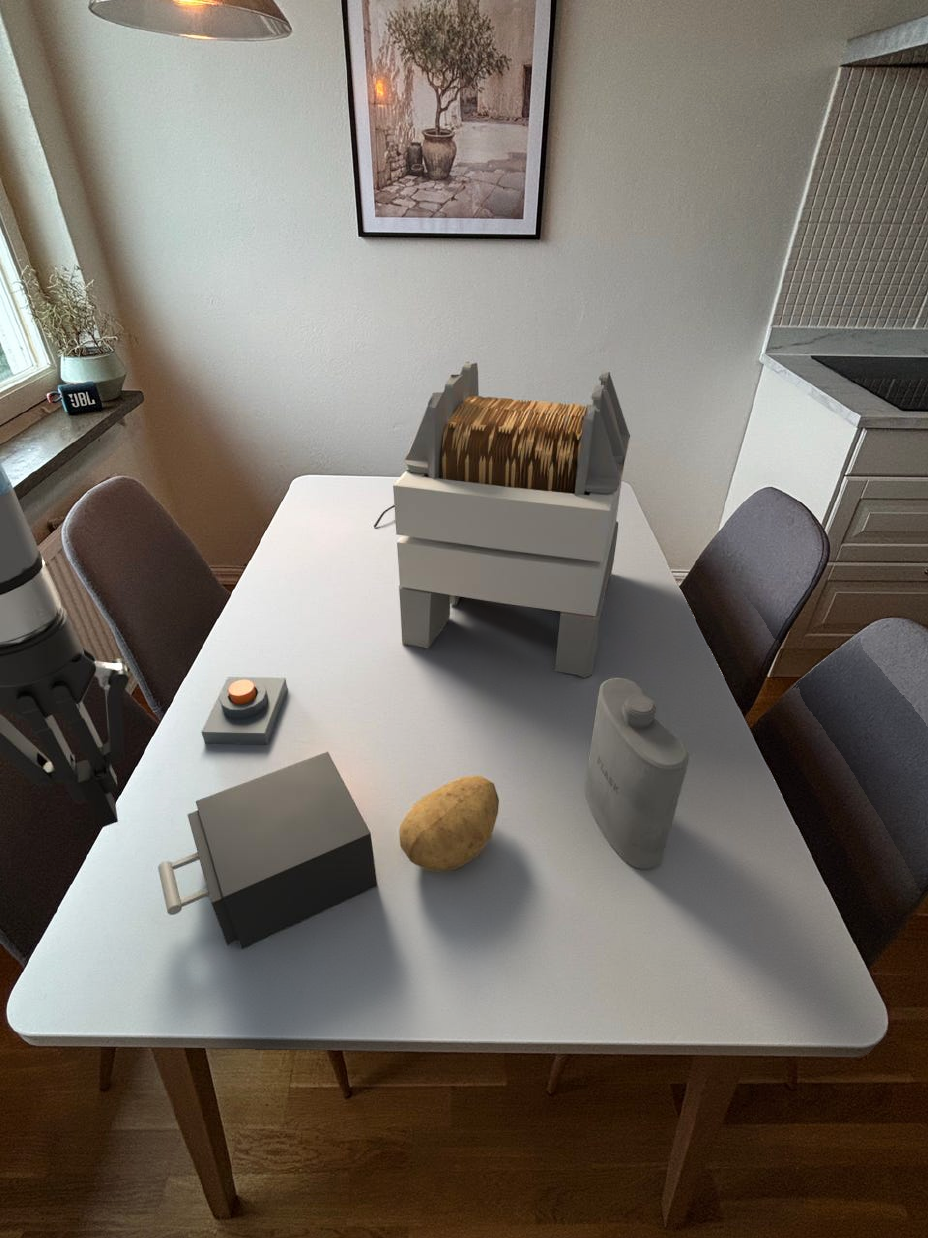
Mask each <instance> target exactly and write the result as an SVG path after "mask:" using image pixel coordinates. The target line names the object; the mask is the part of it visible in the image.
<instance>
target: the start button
mask: <svg viewBox="0 0 928 1238" xmlns="http://www.w3.org/2000/svg"><path fill="white" fill-rule="evenodd" d="M229 695H230V698H231V701H232V702H233V703H235V704H245V703H248V702H251V701H252V700H253V699H254V698H255V697H256V691H255V687H254V684H253V682H252V681H250V680H239V681H236V682H234V683H233V684H231V685H230V687H229Z"/></svg>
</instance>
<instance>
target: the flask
mask: <svg viewBox="0 0 928 1238" xmlns="http://www.w3.org/2000/svg"><path fill="white" fill-rule="evenodd" d="M656 712H657V705H656V703H655V702H654V700H653V699H651V698H650V697H648V696H645V695H644V692H643V690H642V688H641V687H640V686H639V685H638V684H637V683H636V682H635V681H633V680H631V679H628V678H623V677H612V678H609V679H606V680H604V681H603V682H602V683H600V686H599V690H598V696H597V703H596V710H595V718H594V723H593V730H592V738H591V744H590V751H589V758H588V763H587V772H586V778H585V783H584V793H585V799H586V801H587V804H588V807H589V810H590V812H591V814H592V817H593V819H594V820H595V822H596V824H597V826H598V828H599V830H600V831H601V833H602V834H603V837H605V839H606V841H607V842H608V843H609V844H610V845H611V847H612V848H613V850H614V851H615V852H616V853H617V854H618V855H619V857H620V858H622V860H624V861H625V862H626V863H628V864H629V865H630V866H632V867H634V868H636V869H637V868H638V869H641V870H650V869H653V868H656V867H658V866H659V865H660V863H661V862H662V861H663V858H664V854H665V851H666V846H667V843H668V839H669V836H670V832H671V827H672V824H673V820H674V816H675V814H676V809H677V806H678V802H679V799H680V795H681V791H682V787H683V783H684V780H685V776H686V773H687V769H688V765H689V762H690V752H689V750H688V748H687V746H686V745H684V744H683V742H681V741H680V740H679V739H678V738H677V737H676V736H674V734H673V733H671V732H670V731H669V730H668V729H667V728H666V727H665V726H664V724H663V723H662V722H661V721H660V720H659V718H658V717H657V715H656Z"/></svg>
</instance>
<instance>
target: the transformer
mask: <svg viewBox="0 0 928 1238" xmlns="http://www.w3.org/2000/svg"><path fill="white" fill-rule="evenodd" d="M598 380H599V384H595V386H594V388H593V391H592V393H591V396H590V398H591V401H592V403H591V404H585V405H581V404H578V403H565V404H563V403H561V402H553V401H544V400H543V401H542V400H527V401H526V400H523V399H522V400H520V399H517V398H513V399H512V398H506V397H495V396H494V397H492V396H485V397H483V396H480V395H479V393H480V392H479V368H478V362H474V363H470V361H466V362H465V363H464V364H463V365H462V368H461V372H460V373H459V374H458V373H453V374H450V376H449V378H448V379H447V381H446V382H445V384H444V389H443V392H440V391H439V392H438V391H435V392H433V393H432V394H431V396H430V399H429V400H428V402H427V406H426V408H425V411H424V413H423V415H422V418H421V420H420V423H419V425H418V428H417V430H416V432H415V435H414V437H413V440H412V441H411V444H410V447H409V449H408V451H407V454H406V456H405V457H404V465H403V468H404V470H405V471H404V472H403V473H402V474H401V476H400V477H398V479H397V480H396V482H394V484H393V485H392V488H393V505H394V507H393V508H394V521H395V534H396V535H398V536H400V538H399V539H398V540H397V541H396V548H397V564H398V577H399V585H398V592H399V594H398V595H399V607H400V627H401V645H405V646H407V647H410V646H414V647H418V648H419V647H420V648H424V649H429V648H430V647H431V646H432V644H433V643H434V641H436V638H437V637H438V635H439V634H440V633H441V631H442V629H443V628H444V627H445V625H446V624H447V622H448V621H449V619H450V617H451V605H457V603H458V602H459V600H460V598H461V597H463V598H467V599H474V600H479V601H486V602H494V603H499V604H505V605H511V606H512V605H513V606H519V607H527V608H534V609H541V610H547V611H548V610H549V611H555V612H560V617H559V627H558V637H557V648H556V659H555V666H554V667H555V668H554V670H555V671H554V672H559V673H564V674H571V675H574V676H579V677H581V678H587V677H589V676H591V675H593V670H594V666H595V661H596V656H597V648H598V641H599V634H600V627H601V622H602V621H601V620H602V614H603V608H604V601H605V598H606V597H605V595H606V590H607V589H609V587H610V581H611V577H612V572H613V566H614V562H615V554H616V549H617V548H616V546H617V540H618V533H619V522H618V521H617V517H618V510H619V505H620V498H621V497H620V496H621V489H622V483H623V480H622V479H623V475H624V468H625V462H626V457H627V453H628V448H629V444H630V439H631V434H630V431H629V430H630V428H628V425H627V423H626V418H625V416H624V412H623V410H622V407H621V404H620V401H619V397H618V395H617V392H616V388H615V386H614V382H613V380H612V376H611V372H609V371H605V370H601V372H600V374H599V377H598Z"/></svg>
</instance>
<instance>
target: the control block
mask: <svg viewBox="0 0 928 1238" xmlns="http://www.w3.org/2000/svg"><path fill="white" fill-rule="evenodd" d="M239 680H250V681H252V682H253V684H254V687H255V691H256V697H255V698H254V699H253V700H252V701H251V702H248V703H245V704H235V703H233V702H232V701H231V698H230V695H229V687H230V685H231V684H233V683H234V682H236V681H239ZM287 691H288V683H287V678H286V677H252V676H251V677H250V676H227V677H226V680H225V682H224V684H223V686H222V689H221V691H220V692H219V695H218V697H217V698H216V701H215V703H214V705H213V707H212V709H211V711H210V712H209V716H208V717H207V720H206V721H205V724H204V725H203V727H202V729H201V731H200V732H201V735H202V738H203V742H204V744H227V745H228V744H231V745H232V744H233V745H268V743H269V741H270V738H271V735H272V732H273V730H274V727H275V724H276V721H277V719H278V716H279V714H280V710H281V708H282V705H283V702H284V700H285V697H286V694H287Z"/></svg>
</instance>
